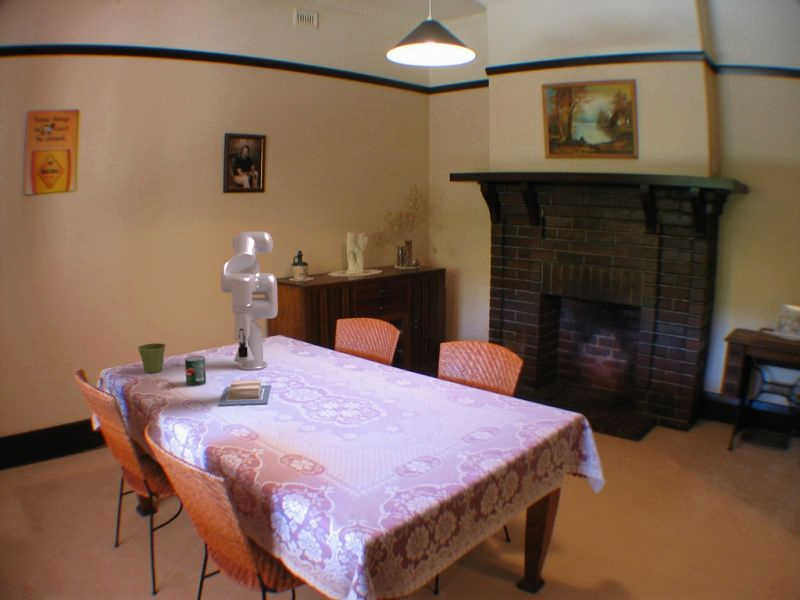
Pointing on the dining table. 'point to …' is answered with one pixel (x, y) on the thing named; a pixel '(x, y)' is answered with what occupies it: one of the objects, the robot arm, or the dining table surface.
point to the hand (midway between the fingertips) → (244, 354)
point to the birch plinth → (245, 389)
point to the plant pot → (152, 356)
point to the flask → (244, 359)
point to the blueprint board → (262, 399)
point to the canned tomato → (195, 370)
